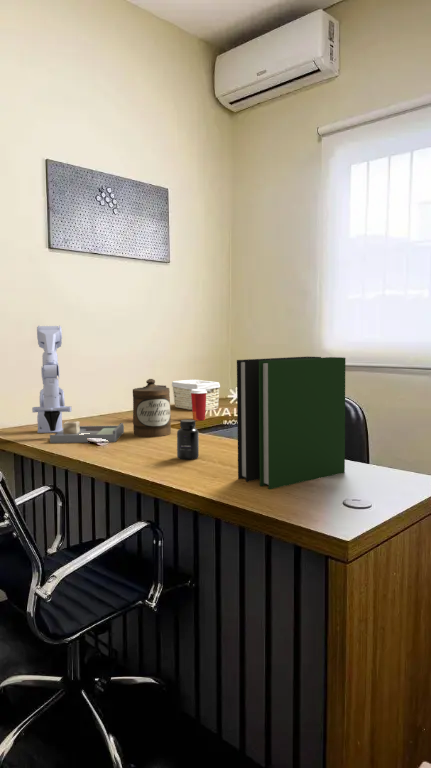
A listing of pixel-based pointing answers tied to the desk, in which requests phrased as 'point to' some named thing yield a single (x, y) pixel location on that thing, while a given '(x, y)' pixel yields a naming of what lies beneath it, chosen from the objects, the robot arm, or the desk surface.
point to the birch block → (71, 427)
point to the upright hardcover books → (290, 419)
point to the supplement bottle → (187, 440)
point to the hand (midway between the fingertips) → (52, 430)
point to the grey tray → (95, 432)
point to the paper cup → (198, 404)
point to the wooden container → (151, 410)
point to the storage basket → (185, 386)
